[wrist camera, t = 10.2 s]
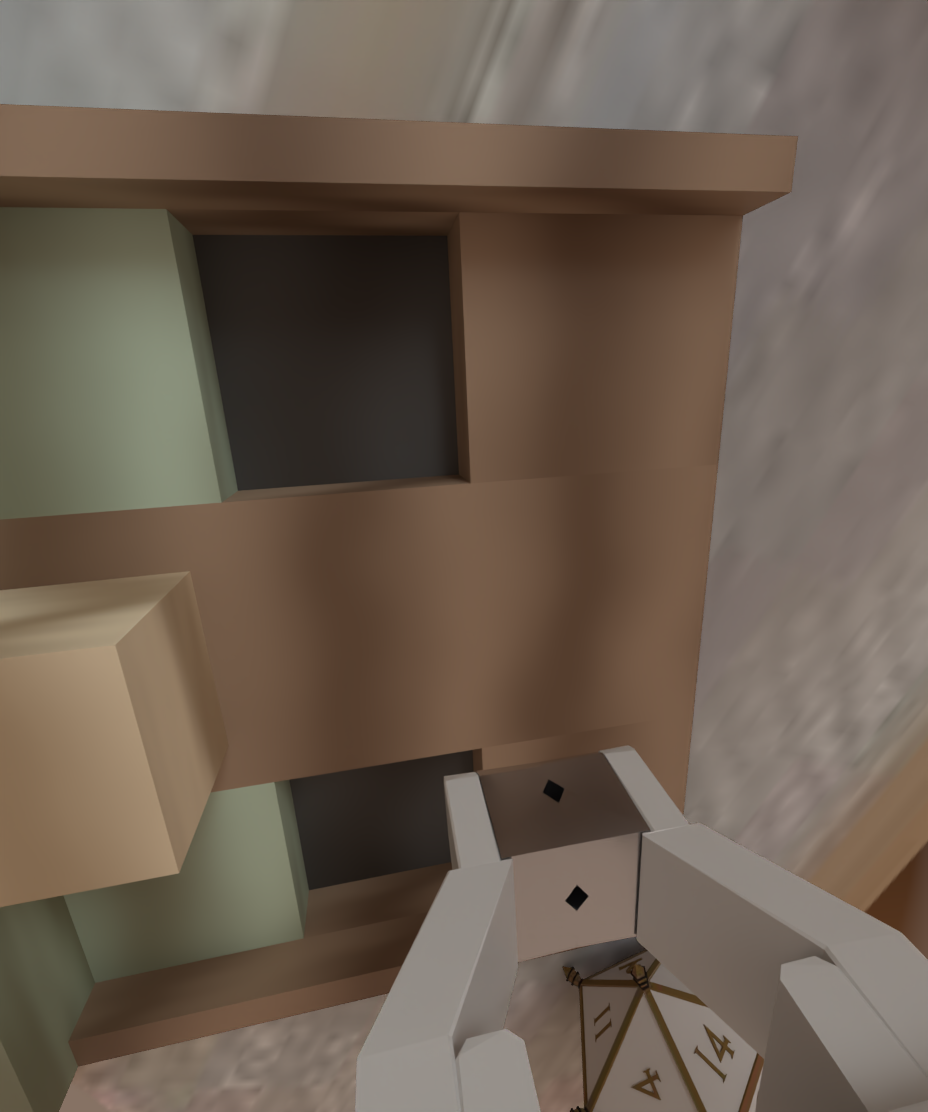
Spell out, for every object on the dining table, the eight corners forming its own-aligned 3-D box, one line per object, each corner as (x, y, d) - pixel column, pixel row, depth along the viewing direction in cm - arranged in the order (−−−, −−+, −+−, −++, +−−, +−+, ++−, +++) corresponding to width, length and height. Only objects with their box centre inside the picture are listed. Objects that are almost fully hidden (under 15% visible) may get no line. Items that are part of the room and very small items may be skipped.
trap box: (696, 198, 14) (864, 96, 9) (647, 835, 21) (732, 964, 16) (-170, 183, 11) (-578, 16, 6) (99, 947, 17) (0, 1151, 13)
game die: (566, 868, 25) (608, 955, 16) (746, 918, 24) (906, 1043, 15) (531, 1091, 23) (556, 1355, 13) (731, 1158, 22) (913, 1497, 12)
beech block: (190, 571, 12) (115, 644, 9) (228, 745, 14) (179, 873, 10) (-47, 595, 12) (-243, 687, 8) (21, 777, 13) (-115, 929, 9)
